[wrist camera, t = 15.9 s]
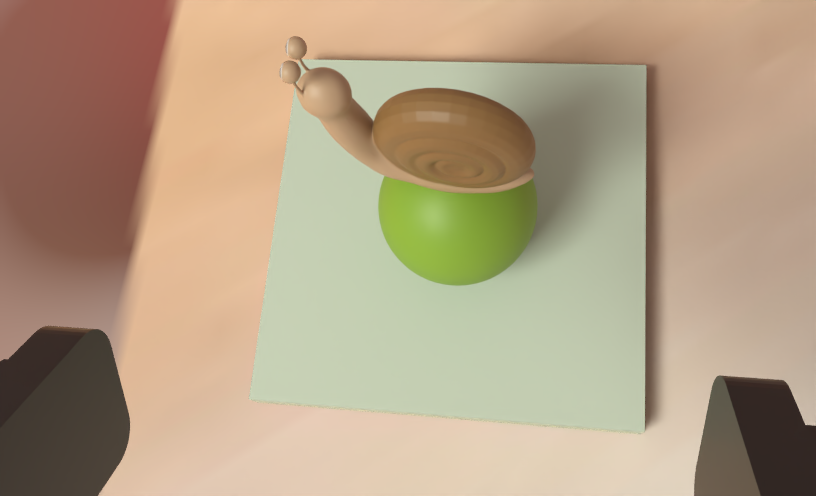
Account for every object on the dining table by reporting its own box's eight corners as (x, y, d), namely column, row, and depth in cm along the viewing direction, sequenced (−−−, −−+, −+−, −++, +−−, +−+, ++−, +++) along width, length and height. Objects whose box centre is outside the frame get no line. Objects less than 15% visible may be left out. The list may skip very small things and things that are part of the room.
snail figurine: (379, 154, 31) (302, -44, 19) (543, 173, 29) (564, -25, 18) (352, 286, 29) (252, 157, 18) (524, 311, 28) (534, 191, 17)
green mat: (642, 77, 31) (646, 64, 30) (640, 434, 27) (644, 432, 26) (305, 71, 33) (298, 59, 32) (257, 402, 29) (249, 399, 28)
